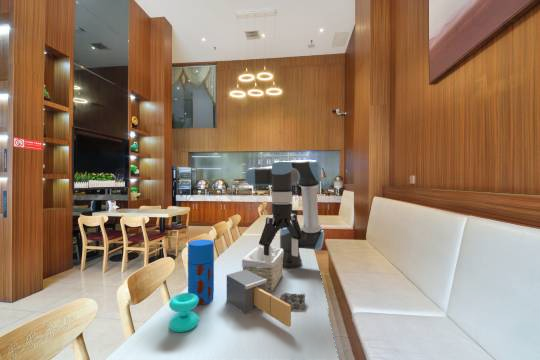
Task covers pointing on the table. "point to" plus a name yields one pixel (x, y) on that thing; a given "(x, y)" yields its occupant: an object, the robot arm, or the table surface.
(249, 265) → the storage basket
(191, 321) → the turquoise hourglass spool
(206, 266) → the thermos
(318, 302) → the table surface
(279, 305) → the ticket
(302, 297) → the egg carton
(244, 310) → the box
